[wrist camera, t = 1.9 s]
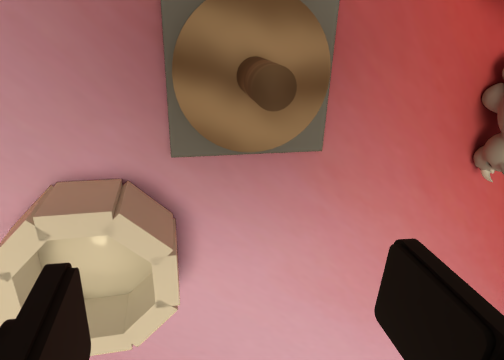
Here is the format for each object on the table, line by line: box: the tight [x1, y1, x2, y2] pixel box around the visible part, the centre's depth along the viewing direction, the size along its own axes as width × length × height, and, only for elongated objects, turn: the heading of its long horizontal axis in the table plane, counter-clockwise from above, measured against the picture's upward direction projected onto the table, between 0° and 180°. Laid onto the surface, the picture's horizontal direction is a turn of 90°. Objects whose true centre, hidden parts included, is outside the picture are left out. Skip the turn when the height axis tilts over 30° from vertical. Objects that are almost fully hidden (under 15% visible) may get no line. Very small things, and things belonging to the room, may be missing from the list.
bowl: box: [0, 179, 180, 356], centre depth 31 cm, size 14×14×6 cm
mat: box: [161, 0, 340, 157], centre depth 29 cm, size 14×14×1 cm
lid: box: [172, 0, 331, 152], centre depth 26 cm, size 13×13×7 cm
